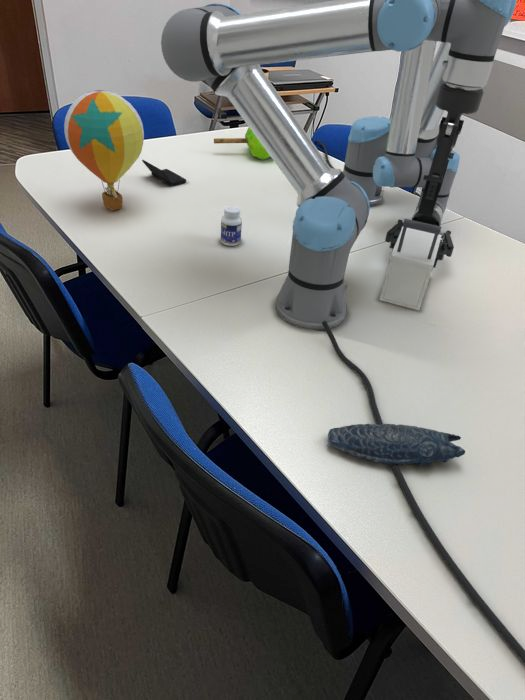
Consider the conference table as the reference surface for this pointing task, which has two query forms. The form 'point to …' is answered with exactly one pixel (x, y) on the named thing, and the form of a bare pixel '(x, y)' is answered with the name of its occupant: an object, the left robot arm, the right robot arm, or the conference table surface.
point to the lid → (417, 244)
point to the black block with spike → (165, 175)
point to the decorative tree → (252, 143)
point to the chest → (405, 284)
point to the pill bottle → (231, 226)
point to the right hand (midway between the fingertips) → (414, 257)
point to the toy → (105, 138)
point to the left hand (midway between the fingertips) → (429, 201)
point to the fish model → (395, 443)
